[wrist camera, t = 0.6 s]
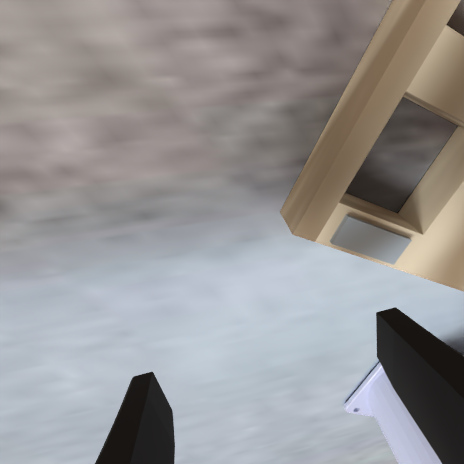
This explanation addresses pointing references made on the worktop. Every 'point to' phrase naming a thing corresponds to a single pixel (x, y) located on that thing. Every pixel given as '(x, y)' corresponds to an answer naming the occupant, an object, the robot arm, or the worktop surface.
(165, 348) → the worktop surface
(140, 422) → the robot arm
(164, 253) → the worktop surface
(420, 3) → the socket board
